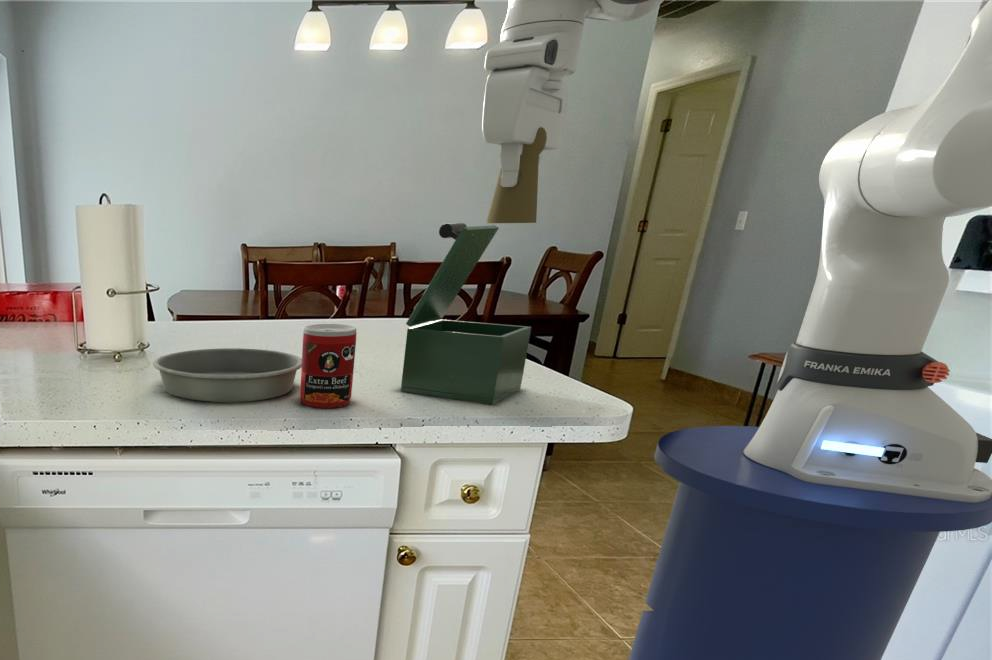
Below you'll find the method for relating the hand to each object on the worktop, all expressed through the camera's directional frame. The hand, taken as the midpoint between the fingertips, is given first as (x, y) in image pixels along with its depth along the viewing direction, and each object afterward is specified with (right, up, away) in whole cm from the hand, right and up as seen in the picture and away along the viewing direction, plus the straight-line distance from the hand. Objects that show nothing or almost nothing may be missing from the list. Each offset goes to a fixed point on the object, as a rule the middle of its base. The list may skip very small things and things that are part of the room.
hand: (516, 187), depth 91 cm
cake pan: (-36, -20, +27) cm, 49 cm away
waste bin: (+2, -21, +23) cm, 32 cm away
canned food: (-21, -24, +17) cm, 37 cm away
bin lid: (-1, -5, +18) cm, 19 cm away
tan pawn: (0, -4, +2) cm, 4 cm away
